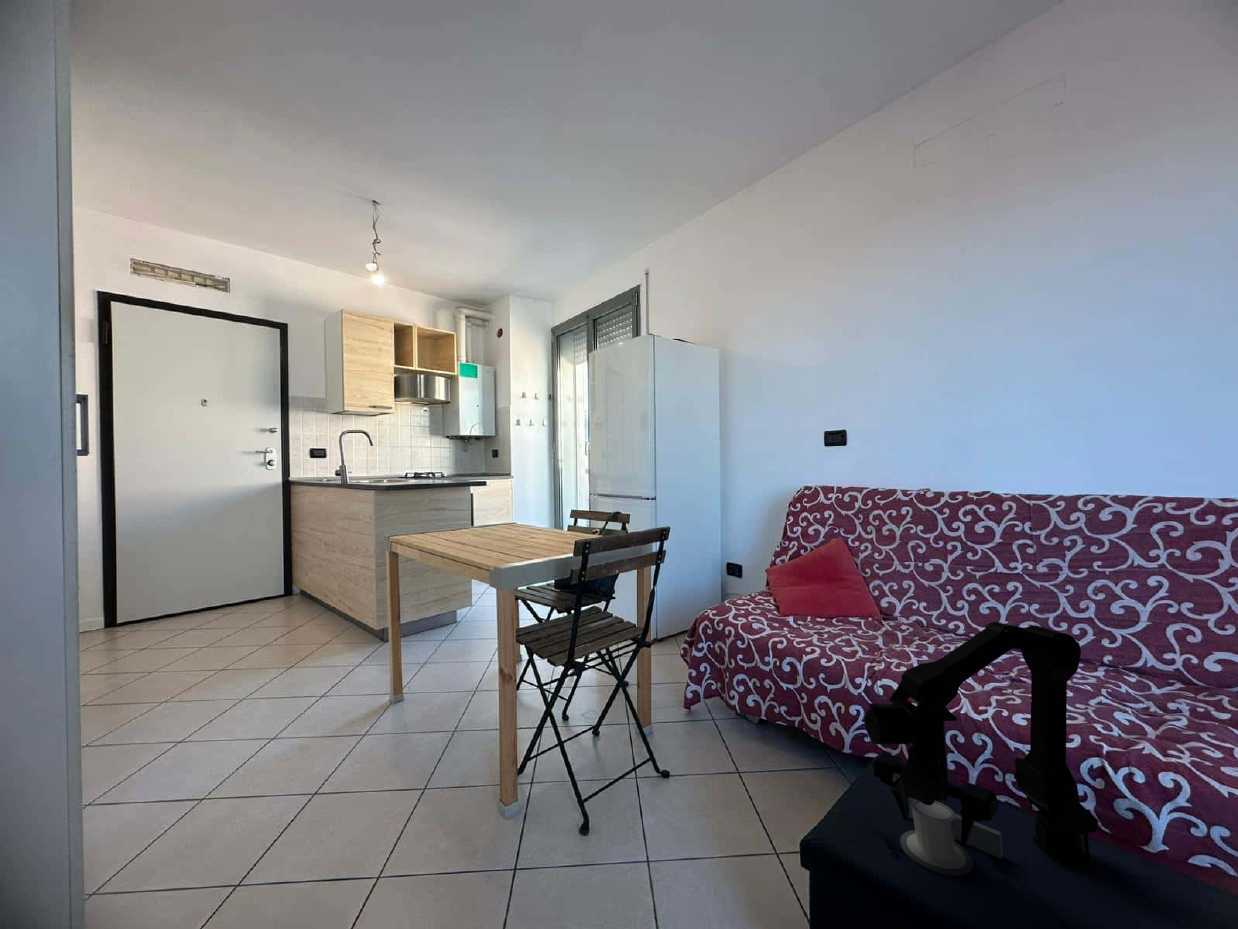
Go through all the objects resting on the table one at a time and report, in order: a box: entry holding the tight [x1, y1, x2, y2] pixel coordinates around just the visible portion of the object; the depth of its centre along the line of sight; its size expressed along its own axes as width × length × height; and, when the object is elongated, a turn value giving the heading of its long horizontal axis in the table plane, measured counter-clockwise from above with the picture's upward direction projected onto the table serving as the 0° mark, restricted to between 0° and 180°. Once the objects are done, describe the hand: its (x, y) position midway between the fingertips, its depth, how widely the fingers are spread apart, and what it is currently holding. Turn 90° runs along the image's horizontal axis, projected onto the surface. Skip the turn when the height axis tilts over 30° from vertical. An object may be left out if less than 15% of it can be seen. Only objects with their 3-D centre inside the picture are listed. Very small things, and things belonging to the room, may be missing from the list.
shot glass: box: [911, 800, 956, 861], centre depth 86 cm, size 7×7×7 cm
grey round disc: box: [899, 829, 974, 877], centre depth 86 cm, size 11×11×1 cm
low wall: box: [908, 798, 1004, 860], centre depth 91 cm, size 16×1×4 cm, turn 40°
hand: (934, 832), depth 86 cm, fingers open, 9 cm apart
